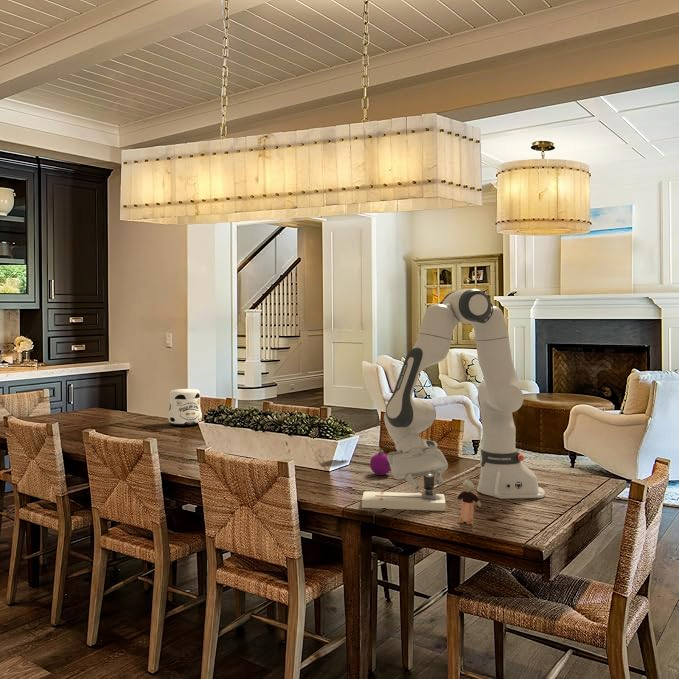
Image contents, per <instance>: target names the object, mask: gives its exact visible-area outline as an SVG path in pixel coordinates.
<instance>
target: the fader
mask: <svg viewBox="0 0 679 679" xmlns="http://www.w3.org/2000/svg"><path fill="white" fill-rule="evenodd" d="M423 489H424V491H421V493H422V498H427V499H436V494H437V493H436V491H433V490H435V475H434V474H425V475H424V476H423Z"/></svg>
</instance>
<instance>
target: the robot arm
mask: <svg viewBox="0 0 679 679" xmlns="http://www.w3.org/2000/svg"><path fill="white" fill-rule="evenodd" d="M421 320H422V321H421V323H420V326H419V331H418V334H417V338H416V341H415V344H414V345H413V347H412V348H411V349H410V350H409V351H408V352H407V355H406V356H405V358H404V362H403V363H402V366H401V370H400V372H399V376H398V378H397V381H396V384H395V386H394V389H393V392H392V394H391V396H390V398H389V400H388V402H387V403H386V407H385V412H384V415H383V420H384V425H385V427H386V430H387V433H388V435H389V437H390V438H391V439H392V441H393V443H394V448H395V449H396V451H389V452H388V453H387V454H386V455H387V459H388V462H389V463H390V468H391V469H390V471H391V474H392V476H393V478H395V479H396V480H401V479H404V480H405V481H406V482H407V483H408V484H410V485H411V487H412V489H413V490H417V489H419V488H420V484H419V481H417V480H415V479H414V478H416V477H424V475H425V474H433V475H434V477H437V478H436V480H435V483H436V485H437V486H442V485H443V484H444V480H443V478H442V477H443V473H445V472H446V471H447V469H448V467H449V463H448V460H447V459H446V456H445V455H444V454H443V452H442V451H441V450H440V449H439V448H438V443H437V442H436V441H434V440H429V439H425V438H421V436H420V433H422V432H424V431H426V430H427V429H429V428H430V427H432V426H433V425H434V423H435V422H436V418H437V412H436V409H435V406H434V405H433V403H432V402H430V401H428V400H423V399H419V398H413V393H414V390H415V388H416V385H417V382H418V379H419V376H420V374H421V372H423V370H424V369H426V368H428V367H430V366H433V365H437V364H439V363H441V362H442V361H444V360H445V359H446V358H447V356H448V354H449V352H450V348H451V345H452V340H453V333H454V330H455V328H456V326H457V325H458V323H470V324H471V325H472V328H473V330H474V337H475V345H476V352H477V354H476V355H477V360H478V365H479V367H480V370H481V372H482V377H483V379H482V381H480V383H479V385H478V387H477V394H478V399H479V409H480V417H481V423H482V424H481V425H482V426H481V427H482V435H481V436H482V442H481V443H482V446H481V447H482V448H481V450H480V457H479V458H480V466H481V467H480V474H479V479H478V484H477V487H476V492H479V493H480V494H482V495H487V496H491V497H493V498H497V499H502V500H504V499H542V498H544V497H545V496H546V492H545V490H544V489H543V488H542V487H540V486H539V483H538V478H537V476H536V474H535V473H534V472H533V471H532V470H531V469H530V468H528V467H527V466H526V465H525V464H524V463H522V462H523V461H524V460H525V456H524V455H523V454H522V453H520V452H519V451H517V450H516V439H517V438H516V432H517V431H516V430H517V429H516V425H515V422H514V417H513V413H515V412H517V411H518V410H519V409H520V408H521V407H522V406H523V403H524V398H525V397H524V393H523V391H522V389H521V387H520V382H519V379H518V376H517V372H516V368H515V365H514V362H513V359H512V358H513V357H512V353H511V351H512V350H511V344H510V343H511V342H510V336H509V331H508V327H507V325H508V324H507V321H506V319H505V316H504V313H503V311H502V309H501V308H500V307H498V306H495V305H493V304H492V302H491V300H490V298H489V296H488V294H487V293H485V292H484V291H483V290H481V289H477V288H464V289H459V290H457V291H456V290H455V291H451V292H449V293H448V294H446V295H445V296H444V297H443V299H442V300H441V301H440V302H439V303H434V304H431V305H429V306H428V307H427V308H426V311H425V312H424V314H423V317H422V319H421Z"/></svg>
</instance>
